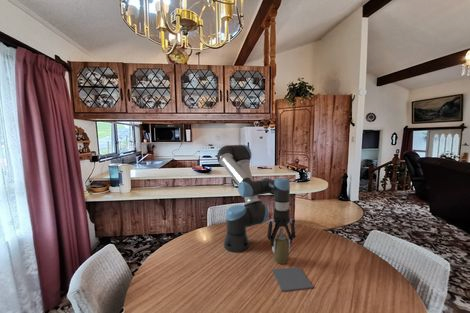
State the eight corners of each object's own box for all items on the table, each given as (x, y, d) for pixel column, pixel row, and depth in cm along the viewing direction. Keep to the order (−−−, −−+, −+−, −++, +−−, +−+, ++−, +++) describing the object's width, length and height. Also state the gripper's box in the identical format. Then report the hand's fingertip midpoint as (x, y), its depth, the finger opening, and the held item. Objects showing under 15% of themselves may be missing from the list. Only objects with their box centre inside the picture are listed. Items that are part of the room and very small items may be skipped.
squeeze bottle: (289, 258, 115) (290, 226, 113) (288, 267, 107) (288, 232, 105) (274, 255, 117) (274, 224, 115) (272, 263, 110) (272, 230, 108)
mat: (282, 291, 90) (282, 290, 90) (272, 270, 104) (272, 269, 104) (313, 288, 92) (313, 286, 92) (299, 267, 106) (299, 266, 106)
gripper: (264, 212, 104) (264, 256, 106) (303, 210, 107) (302, 253, 109) (260, 207, 111) (260, 248, 114) (297, 205, 114) (296, 245, 116)
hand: (281, 250), depth 111 cm, fingers open, 7 cm apart
